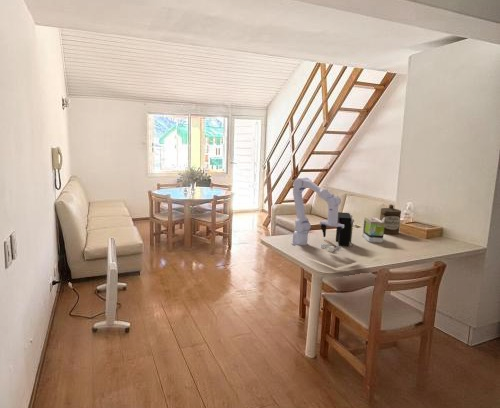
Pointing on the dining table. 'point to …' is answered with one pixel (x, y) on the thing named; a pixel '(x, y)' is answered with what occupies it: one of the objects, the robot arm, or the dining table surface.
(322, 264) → the dining table surface
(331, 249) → the white stepped block
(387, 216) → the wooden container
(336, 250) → the heatsink
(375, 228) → the tea box
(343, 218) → the electrical component
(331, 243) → the brown flat bar
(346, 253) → the dining table surface
